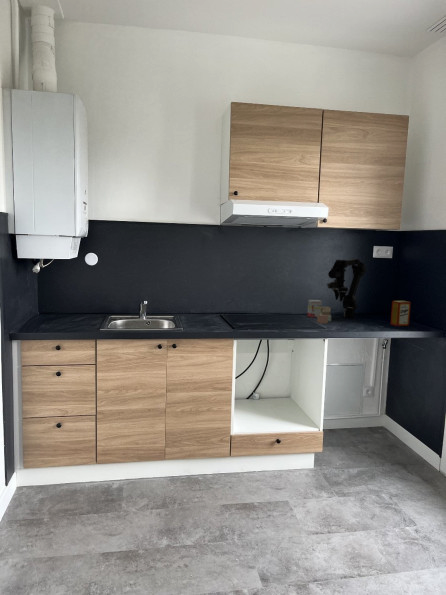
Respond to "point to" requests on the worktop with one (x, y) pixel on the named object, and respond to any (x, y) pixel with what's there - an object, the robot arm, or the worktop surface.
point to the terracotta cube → (322, 318)
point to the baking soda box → (400, 313)
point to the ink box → (314, 308)
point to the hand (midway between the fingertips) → (338, 300)
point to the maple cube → (325, 310)
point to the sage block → (328, 317)
